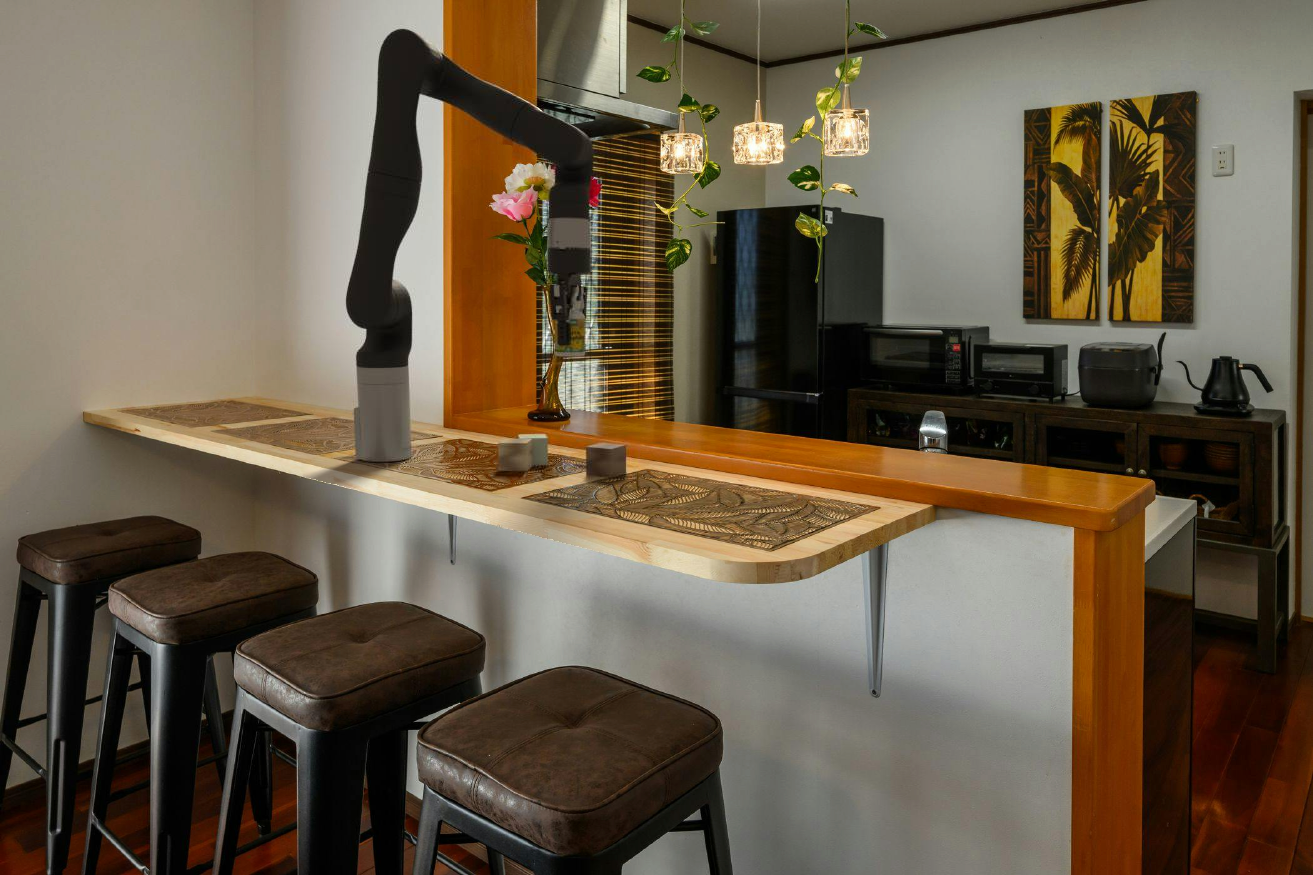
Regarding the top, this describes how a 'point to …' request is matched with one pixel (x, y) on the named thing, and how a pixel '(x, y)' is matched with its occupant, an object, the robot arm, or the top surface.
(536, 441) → the sage block
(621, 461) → the walnut block
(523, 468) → the oak block
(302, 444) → the top surface
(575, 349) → the supplement bottle
